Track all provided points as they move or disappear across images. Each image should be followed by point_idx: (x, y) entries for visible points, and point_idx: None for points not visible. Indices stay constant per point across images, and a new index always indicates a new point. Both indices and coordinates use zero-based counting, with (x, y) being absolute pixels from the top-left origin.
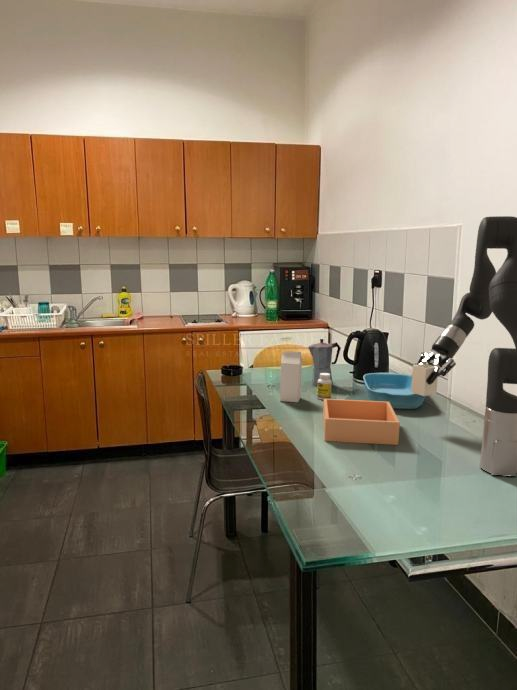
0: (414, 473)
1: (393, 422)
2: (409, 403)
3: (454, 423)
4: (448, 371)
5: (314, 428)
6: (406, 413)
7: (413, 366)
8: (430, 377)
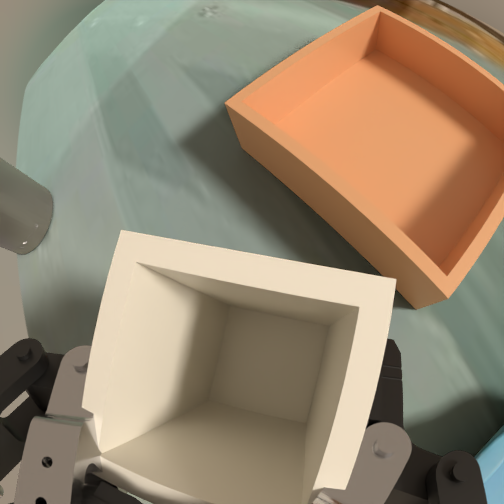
0: (138, 77)
1: (241, 91)
2: None
3: None
4: (11, 420)
5: None
6: None
7: (376, 278)
8: None
